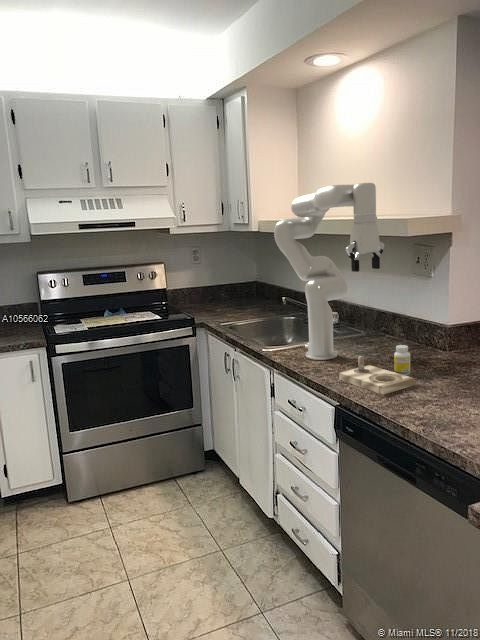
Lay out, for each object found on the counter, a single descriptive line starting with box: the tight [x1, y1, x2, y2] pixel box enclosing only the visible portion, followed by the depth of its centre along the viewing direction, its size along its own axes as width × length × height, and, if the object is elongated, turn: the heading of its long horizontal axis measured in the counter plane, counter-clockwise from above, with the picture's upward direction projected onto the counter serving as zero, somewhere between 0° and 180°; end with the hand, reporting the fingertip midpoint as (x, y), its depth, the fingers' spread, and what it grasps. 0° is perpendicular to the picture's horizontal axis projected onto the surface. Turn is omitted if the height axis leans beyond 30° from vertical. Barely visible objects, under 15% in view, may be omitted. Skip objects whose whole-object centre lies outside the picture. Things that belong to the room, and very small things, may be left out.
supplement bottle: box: [393, 344, 411, 376], centre depth 180 cm, size 5×5×10 cm
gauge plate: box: [338, 355, 415, 396], centre depth 172 cm, size 20×14×8 cm
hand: (365, 270), depth 180 cm, fingers open, 9 cm apart
